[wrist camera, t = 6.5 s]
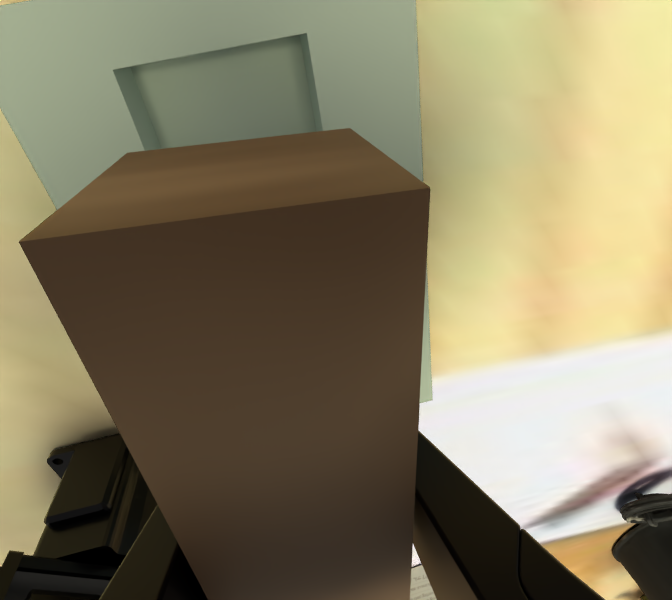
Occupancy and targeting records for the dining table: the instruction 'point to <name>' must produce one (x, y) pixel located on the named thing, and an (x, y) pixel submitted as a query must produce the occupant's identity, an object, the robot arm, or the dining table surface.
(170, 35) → the sage cradle
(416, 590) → the skincare box
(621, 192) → the dining table surface
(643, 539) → the milk frother
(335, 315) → the walnut peg
